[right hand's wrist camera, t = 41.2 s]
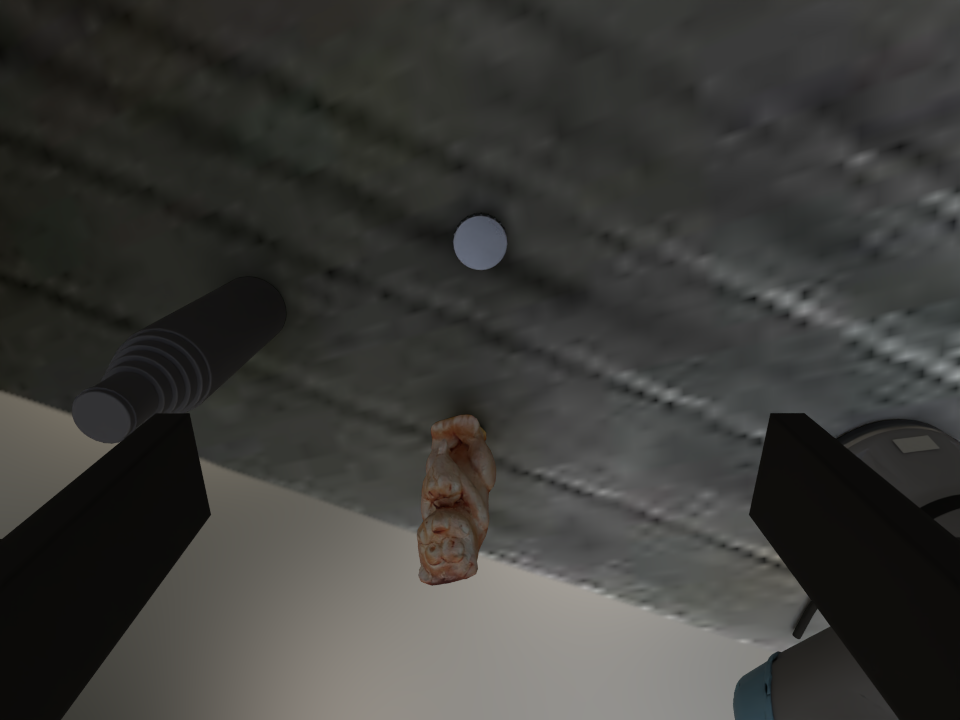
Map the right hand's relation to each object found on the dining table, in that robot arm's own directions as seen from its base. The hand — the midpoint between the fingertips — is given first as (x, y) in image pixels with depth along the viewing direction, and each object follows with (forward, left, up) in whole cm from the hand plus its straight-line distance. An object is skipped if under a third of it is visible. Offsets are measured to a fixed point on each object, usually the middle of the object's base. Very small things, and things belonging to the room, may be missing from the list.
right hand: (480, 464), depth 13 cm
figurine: (-17, +4, -33) cm, 37 cm away
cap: (0, 0, -31) cm, 31 cm away
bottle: (-3, +19, -33) cm, 38 cm away
